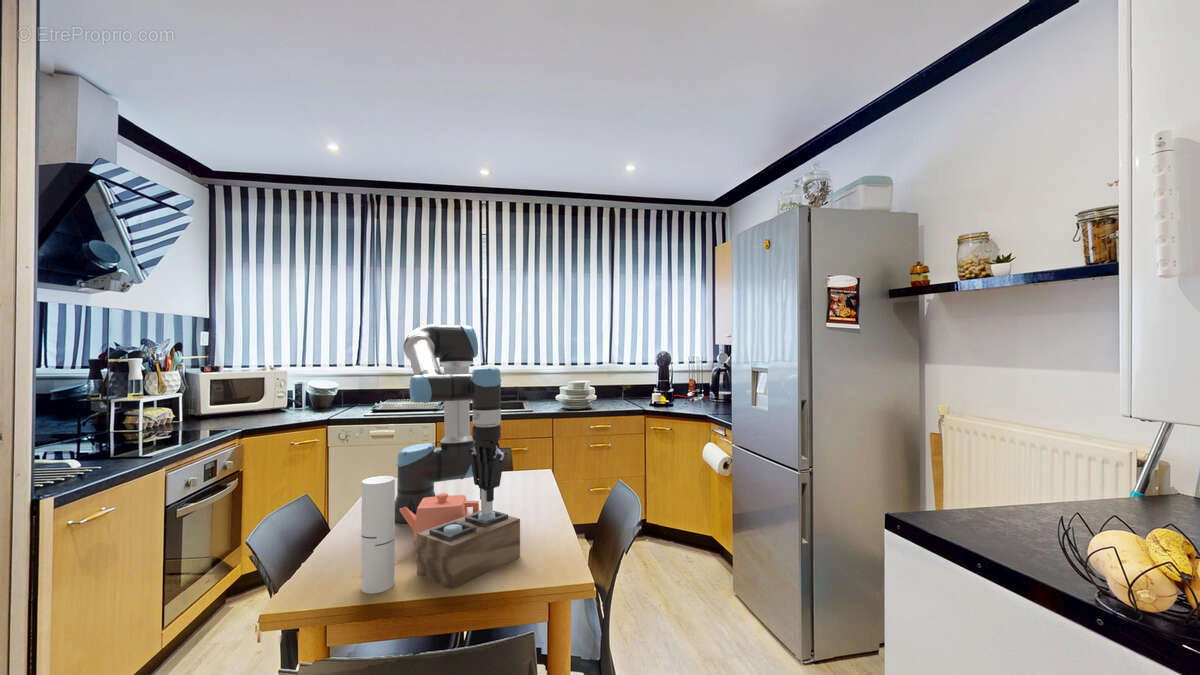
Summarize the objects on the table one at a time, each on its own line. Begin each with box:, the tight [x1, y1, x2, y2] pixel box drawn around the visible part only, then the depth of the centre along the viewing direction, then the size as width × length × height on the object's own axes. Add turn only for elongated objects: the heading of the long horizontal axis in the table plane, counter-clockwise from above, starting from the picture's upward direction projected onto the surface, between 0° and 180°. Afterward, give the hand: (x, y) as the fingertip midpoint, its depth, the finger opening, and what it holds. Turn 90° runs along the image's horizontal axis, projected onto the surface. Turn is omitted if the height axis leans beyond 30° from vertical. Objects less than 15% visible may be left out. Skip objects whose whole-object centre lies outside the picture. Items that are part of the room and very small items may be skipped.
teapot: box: [400, 492, 480, 548], centre depth 140 cm, size 22×13×14 cm, turn 101°
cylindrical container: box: [360, 475, 396, 595], centre depth 115 cm, size 7×7×25 cm
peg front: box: [444, 524, 462, 535], centre depth 122 cm, size 4×4×9 cm
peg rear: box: [478, 512, 495, 521], centre depth 131 cm, size 4×4×9 cm
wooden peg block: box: [416, 510, 521, 590], centre depth 126 cm, size 14×22×11 cm, turn 144°
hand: (486, 512), depth 131 cm, fingers closed
